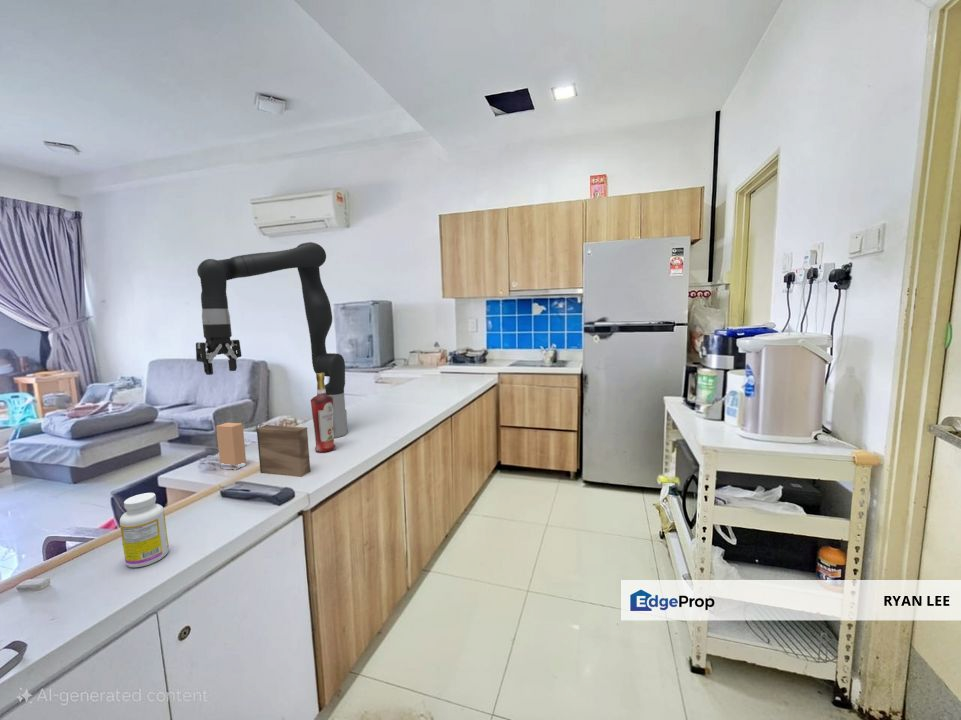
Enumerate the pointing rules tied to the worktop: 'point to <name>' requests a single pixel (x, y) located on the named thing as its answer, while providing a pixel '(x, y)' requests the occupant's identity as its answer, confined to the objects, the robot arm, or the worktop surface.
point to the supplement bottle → (143, 530)
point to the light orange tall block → (231, 443)
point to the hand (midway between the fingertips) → (221, 372)
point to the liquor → (323, 417)
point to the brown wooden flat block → (283, 450)
